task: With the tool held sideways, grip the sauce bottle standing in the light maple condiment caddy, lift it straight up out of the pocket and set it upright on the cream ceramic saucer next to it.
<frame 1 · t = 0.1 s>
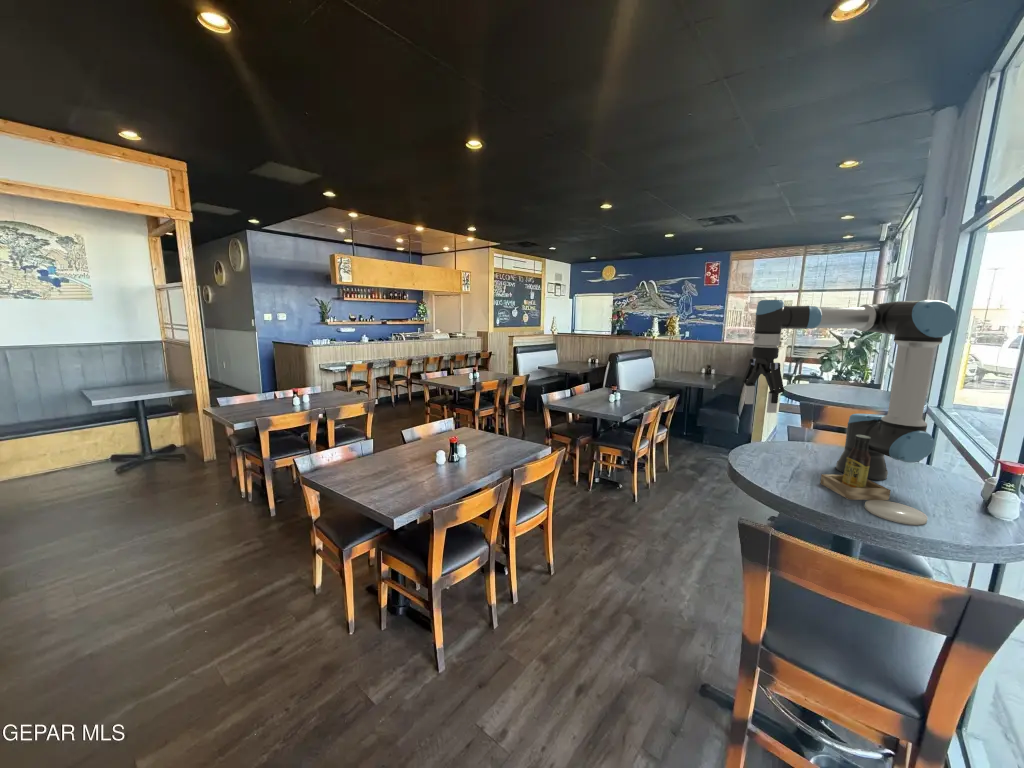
hand: (759, 408, 142), 28 cm above the table, tool pointing down, fingers open, 13 cm apart
saucer: (894, 513, 126), on the table
condiment caddy: (852, 491, 141), on the table
sauce bottle: (852, 492, 141), resting in condiment caddy
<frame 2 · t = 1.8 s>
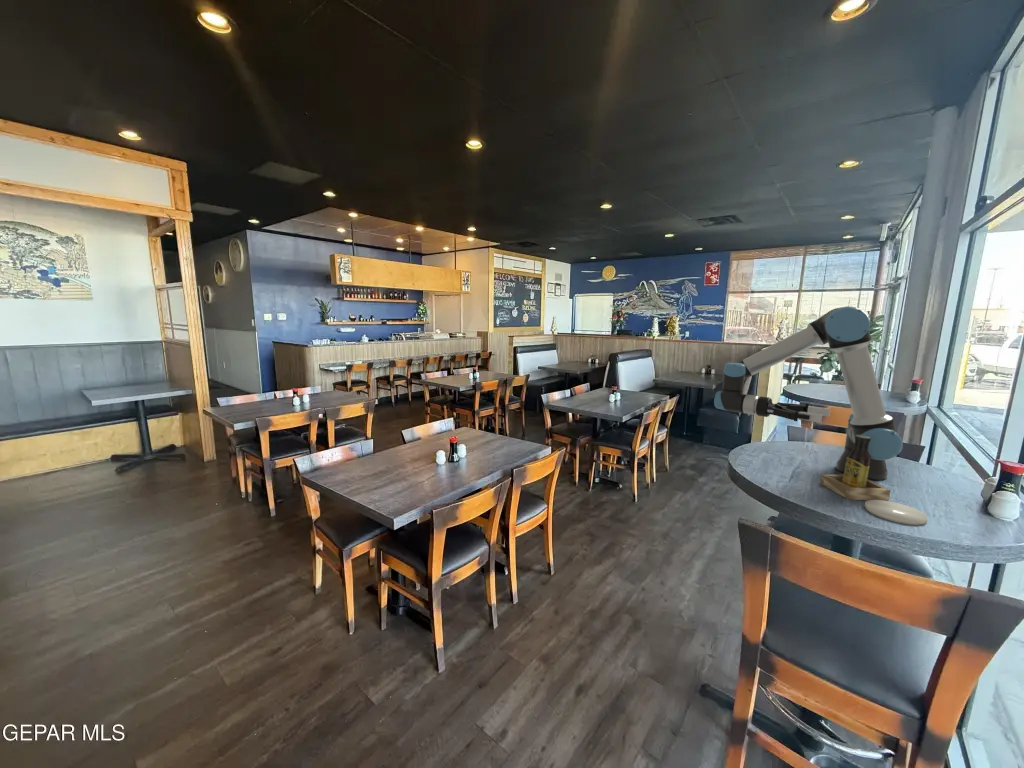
hand: (826, 415, 144), 25 cm above the table, tool horizontal, fingers open, 13 cm apart
nothing on the table moved.
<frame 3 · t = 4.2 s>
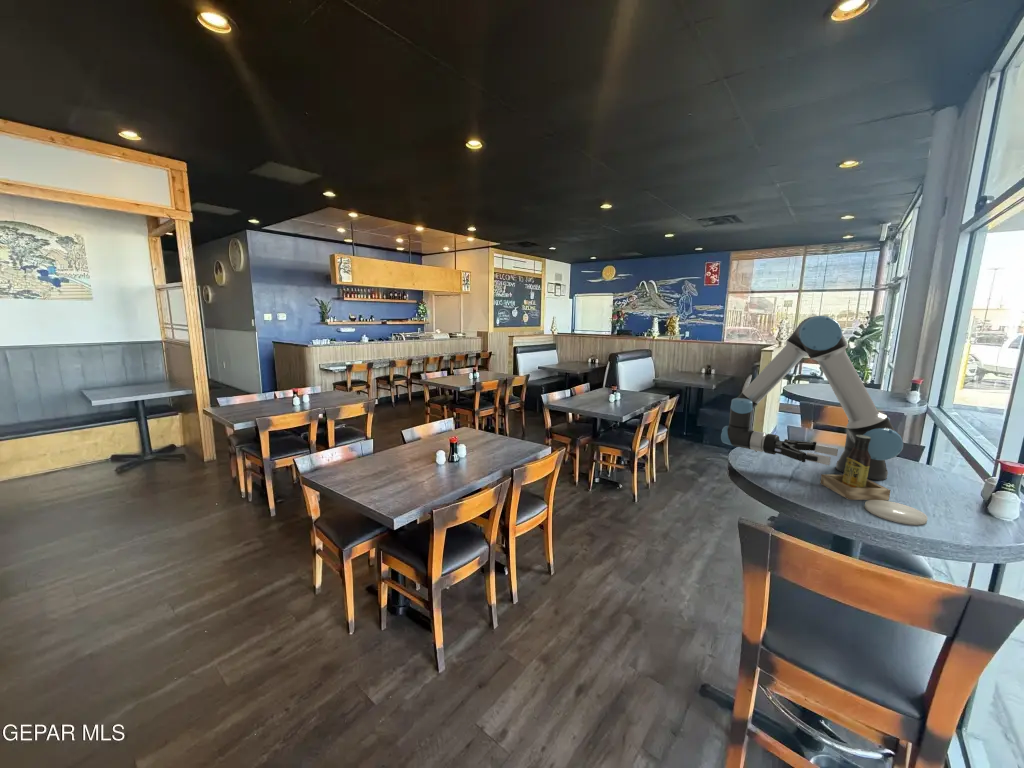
hand: (833, 456, 144), 11 cm above the table, tool horizontal, fingers open, 13 cm apart
nothing on the table moved.
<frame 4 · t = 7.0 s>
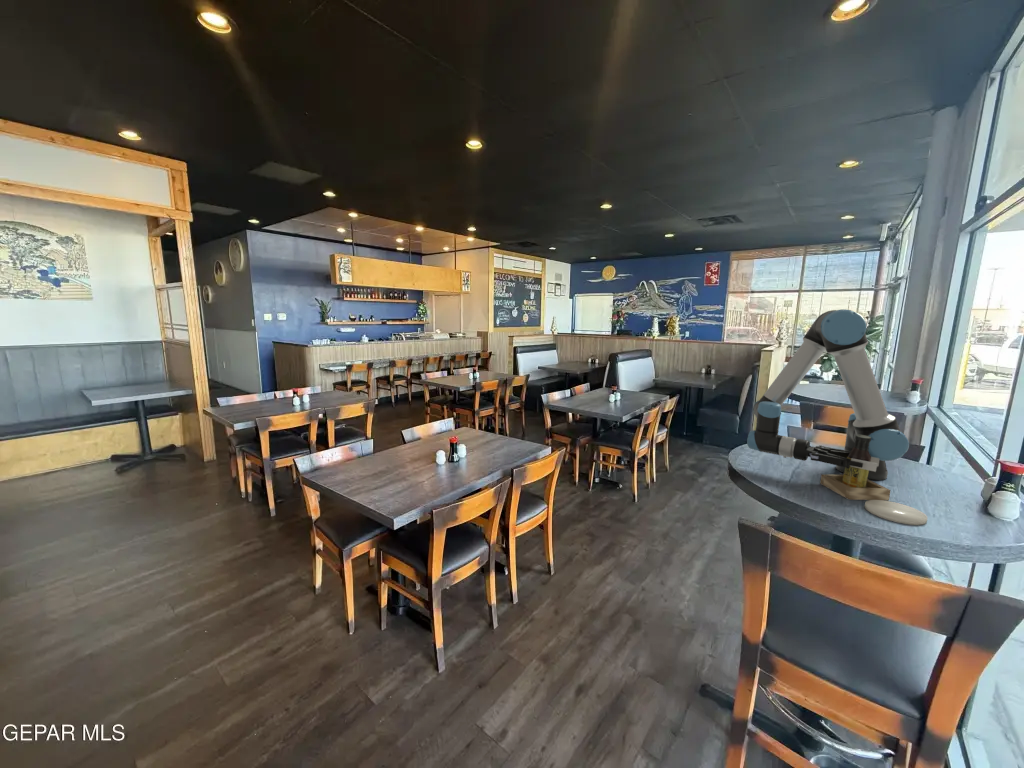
hand: (877, 464, 136), 11 cm above the table, tool horizontal, fingers closed on sauce bottle, 6 cm apart
sauce bottle: (852, 492, 141), resting in condiment caddy, touching gripper
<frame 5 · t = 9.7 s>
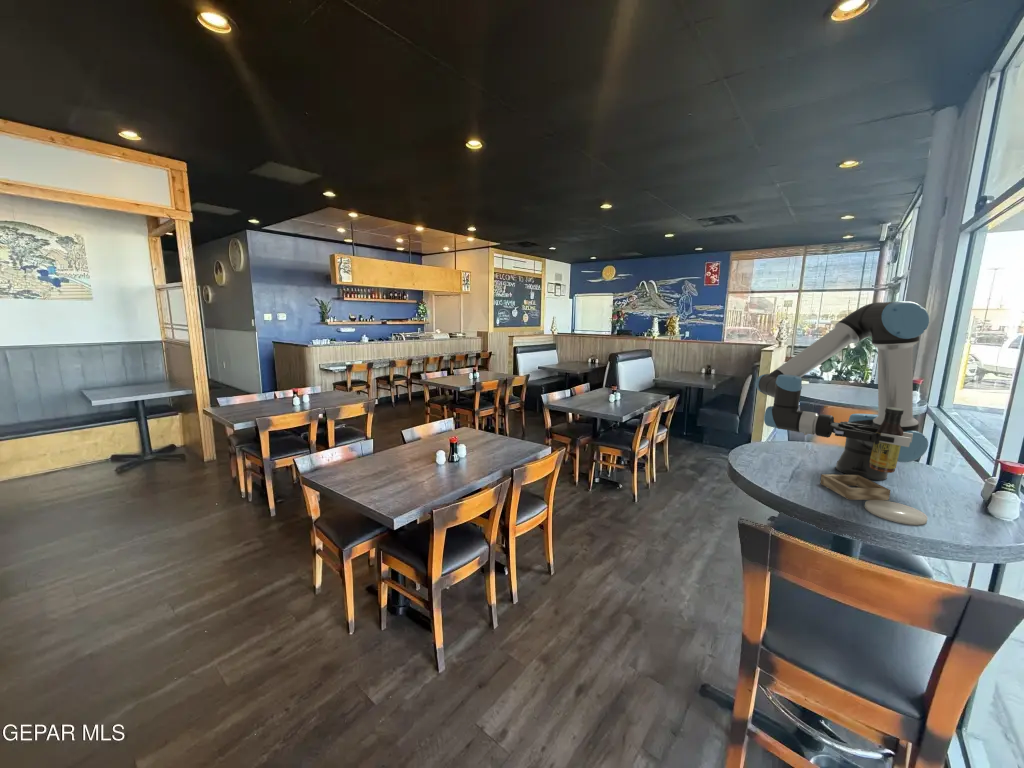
hand: (910, 440, 123), 23 cm above the table, tool horizontal, fingers closed on sauce bottle, 6 cm apart
sauce bottle: (882, 470, 128), point 12 cm above the table, touching gripper
when the fingers open (14 cm above the table, at t = 12.7 s): sauce bottle drops 1 cm, resting on saucer.
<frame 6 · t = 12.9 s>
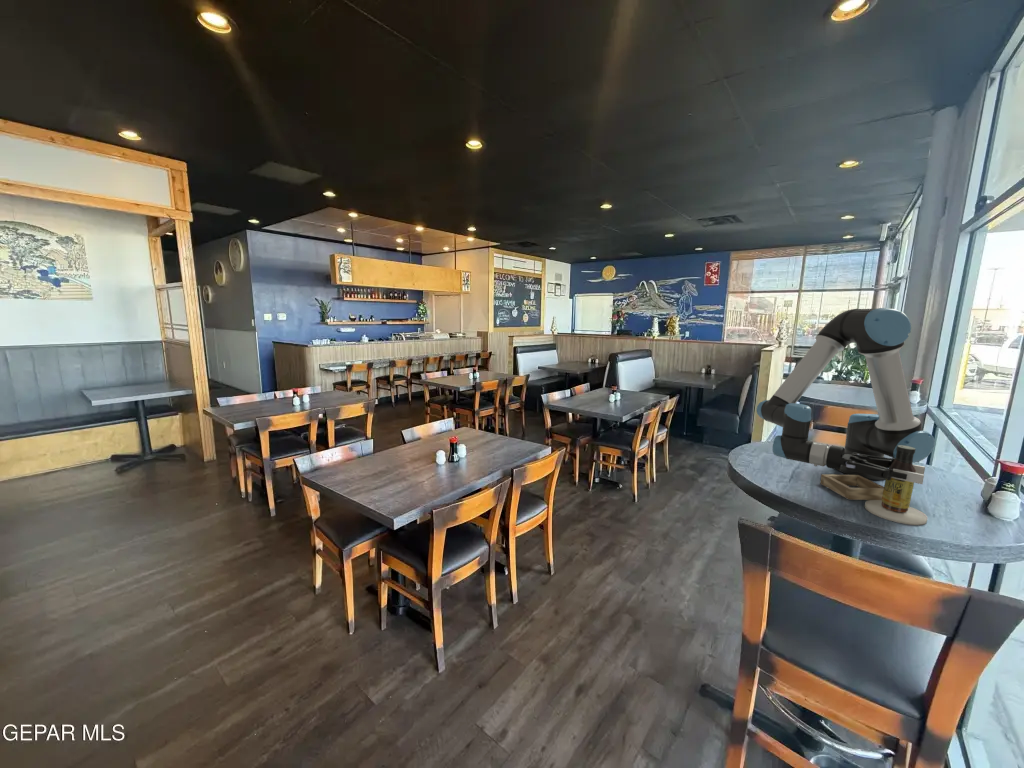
hand: (923, 475, 120), 14 cm above the table, tool horizontal, fingers open, 8 cm apart
sauce bottle: (894, 510, 125), point 1 cm above the table, touching saucer
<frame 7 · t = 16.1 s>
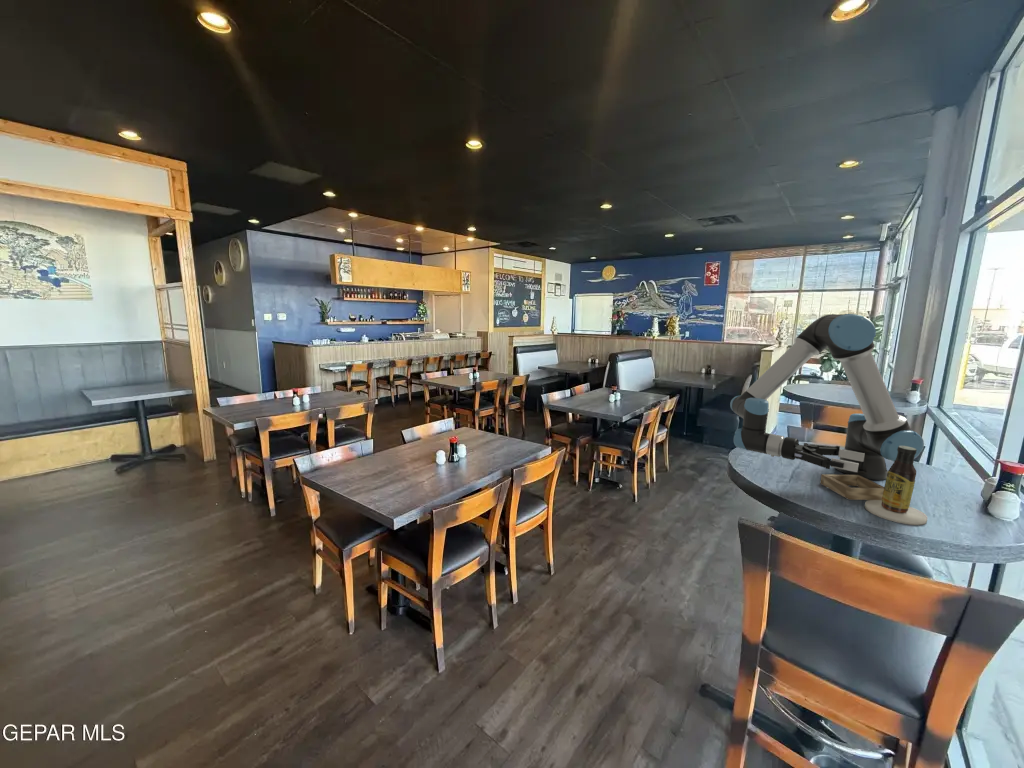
hand: (861, 462, 130), 14 cm above the table, tool horizontal, fingers open, 13 cm apart
nothing on the table moved.
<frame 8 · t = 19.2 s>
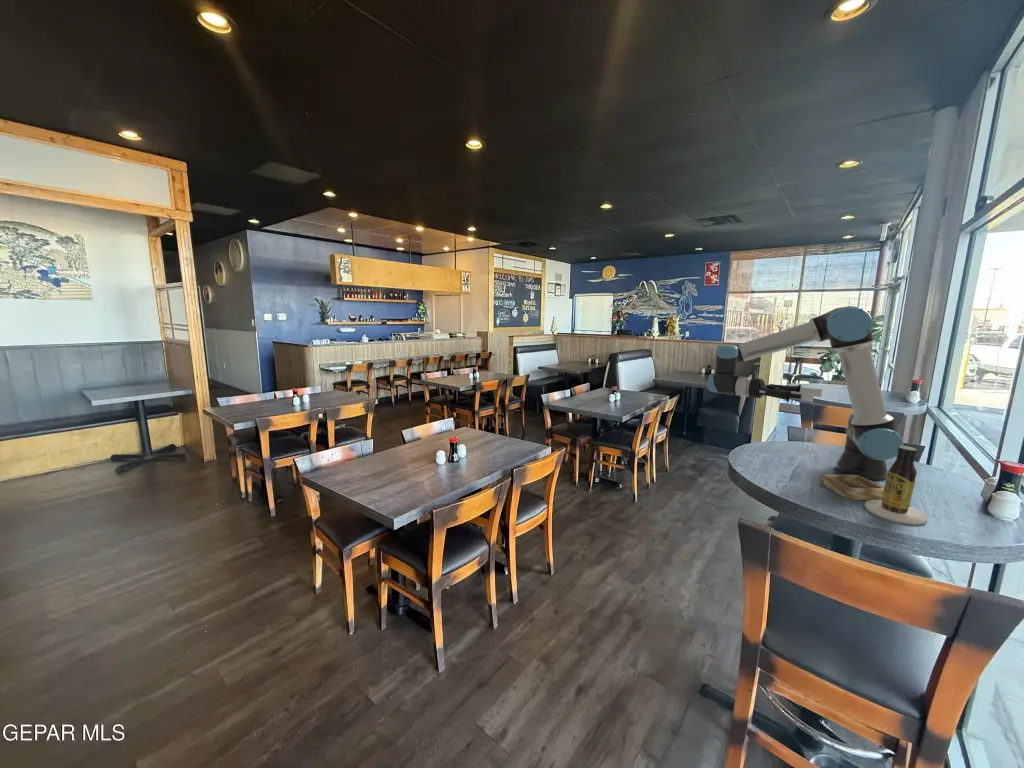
hand: (817, 395, 144), 32 cm above the table, tool horizontal, fingers open, 13 cm apart
nothing on the table moved.
at the end: sauce bottle inside the target area on the saucer (0.1 cm from its centre), point 1.0 cm above the saucer's base; sauce bottle tilted 0°; the gripper is holding nothing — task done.
